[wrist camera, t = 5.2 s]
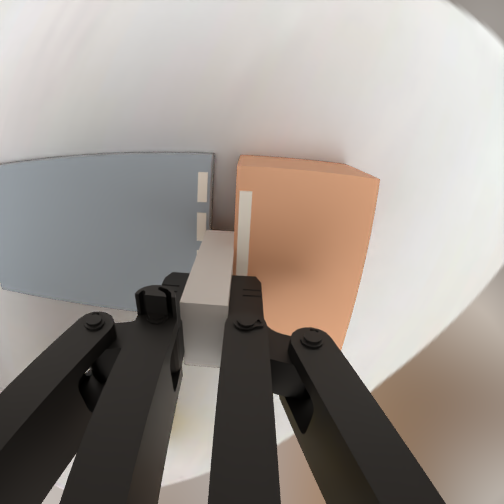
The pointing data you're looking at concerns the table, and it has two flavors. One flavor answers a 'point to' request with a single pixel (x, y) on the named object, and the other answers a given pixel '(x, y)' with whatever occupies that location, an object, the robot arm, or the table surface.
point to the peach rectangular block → (303, 239)
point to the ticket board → (102, 223)
